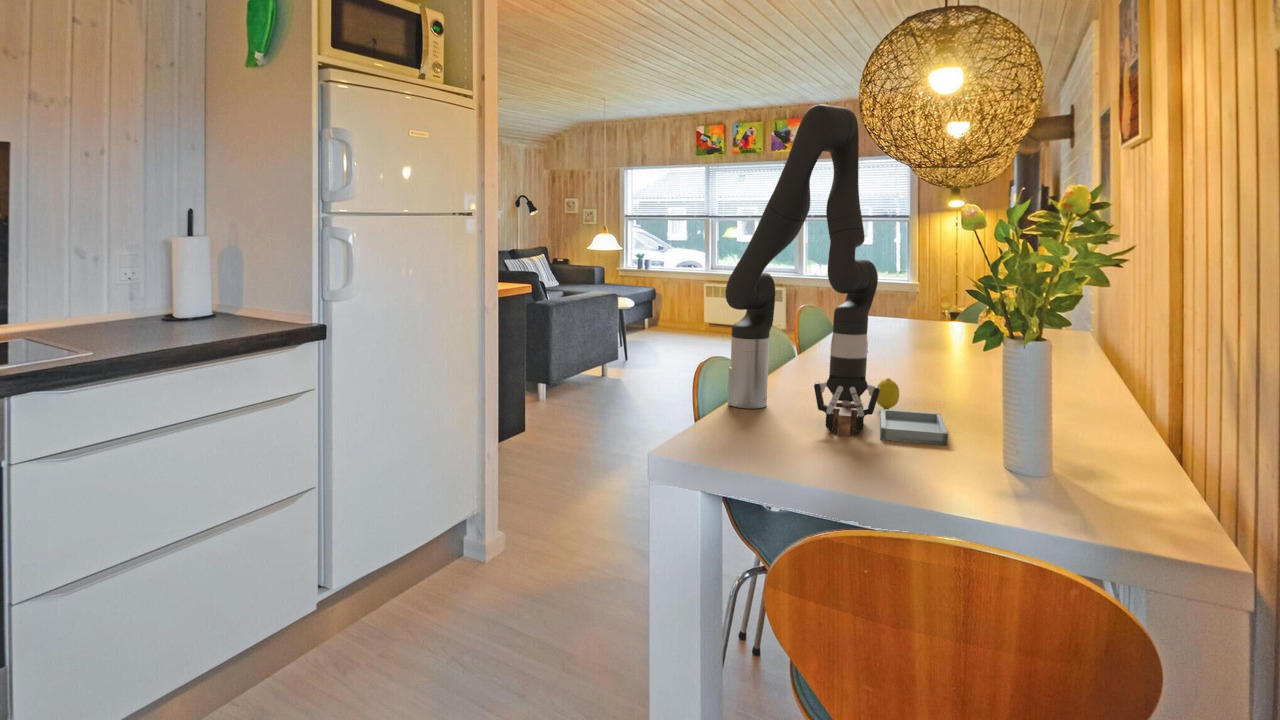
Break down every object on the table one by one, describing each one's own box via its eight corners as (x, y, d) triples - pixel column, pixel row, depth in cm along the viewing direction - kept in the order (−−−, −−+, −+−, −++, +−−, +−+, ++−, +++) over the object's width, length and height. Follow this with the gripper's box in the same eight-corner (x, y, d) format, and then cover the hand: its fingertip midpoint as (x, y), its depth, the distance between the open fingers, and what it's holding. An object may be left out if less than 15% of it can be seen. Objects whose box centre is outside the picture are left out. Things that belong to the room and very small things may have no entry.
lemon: (895, 408, 183) (897, 376, 182) (900, 413, 178) (902, 380, 176) (872, 407, 184) (874, 375, 182) (877, 412, 178) (879, 380, 177)
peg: (840, 425, 166) (842, 386, 164) (840, 423, 168) (843, 384, 166) (849, 426, 165) (852, 387, 164) (850, 424, 167) (852, 385, 166)
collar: (825, 434, 158) (826, 414, 158) (829, 419, 171) (830, 400, 170) (861, 437, 156) (863, 417, 155) (862, 422, 169) (864, 403, 168)
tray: (880, 439, 155) (881, 428, 154) (879, 419, 172) (880, 408, 171) (947, 445, 151) (948, 433, 151) (939, 424, 168) (940, 413, 168)
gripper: (812, 354, 156) (808, 432, 158) (884, 358, 151) (878, 438, 154) (815, 349, 163) (811, 424, 166) (883, 353, 158) (878, 430, 161)
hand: (844, 430), depth 160 cm, fingers open, 5 cm apart
